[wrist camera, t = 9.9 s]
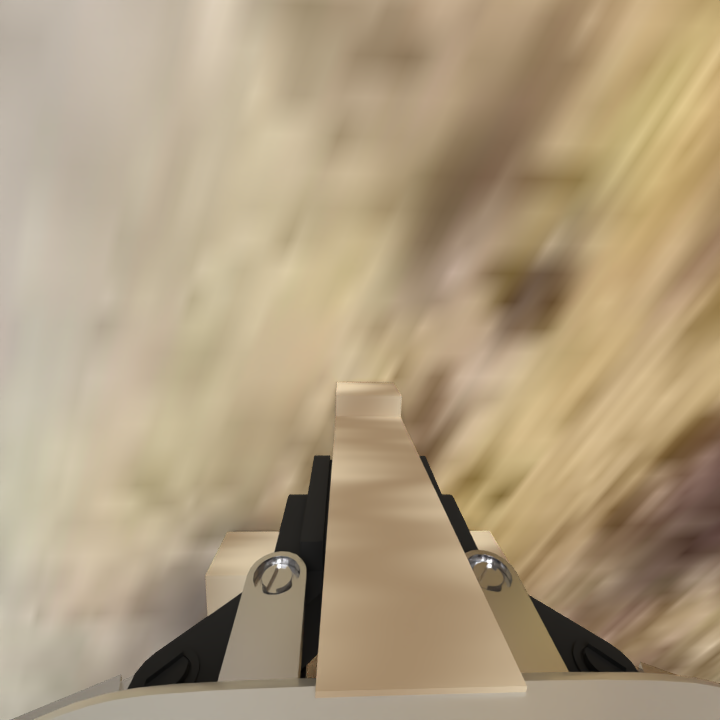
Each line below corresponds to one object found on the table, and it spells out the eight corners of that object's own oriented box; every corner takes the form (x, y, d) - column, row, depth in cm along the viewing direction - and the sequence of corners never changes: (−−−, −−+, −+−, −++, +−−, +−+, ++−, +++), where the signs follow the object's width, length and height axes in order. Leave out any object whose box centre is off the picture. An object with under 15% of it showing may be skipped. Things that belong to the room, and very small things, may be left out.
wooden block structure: (504, 384, 15) (937, 619, 4) (485, 568, 16) (756, 1089, 6) (220, 379, 14) (-169, 639, 3) (229, 570, 16) (-19, 1156, 5)
